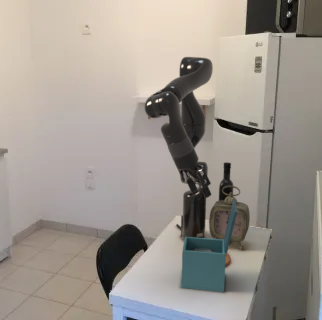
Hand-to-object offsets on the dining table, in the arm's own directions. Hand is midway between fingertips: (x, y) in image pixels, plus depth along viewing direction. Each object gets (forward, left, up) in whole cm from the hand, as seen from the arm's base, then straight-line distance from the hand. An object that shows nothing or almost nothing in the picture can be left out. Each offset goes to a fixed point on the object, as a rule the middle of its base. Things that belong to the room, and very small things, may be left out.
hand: (201, 193), depth 144 cm
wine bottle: (-26, +39, -31) cm, 56 cm away
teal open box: (+2, 0, -31) cm, 31 cm away
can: (+2, 0, -30) cm, 30 cm away
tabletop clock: (-14, +29, -31) cm, 44 cm away
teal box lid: (+8, +5, -10) cm, 14 cm away
